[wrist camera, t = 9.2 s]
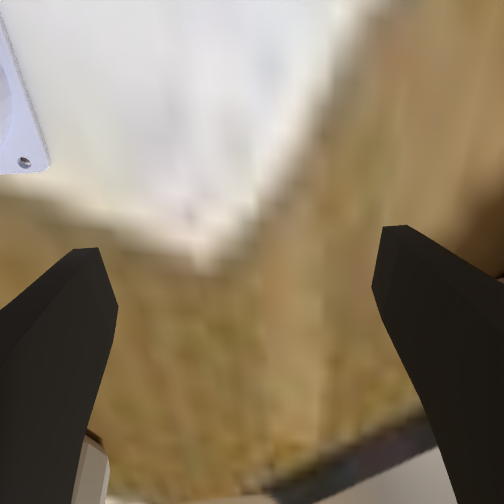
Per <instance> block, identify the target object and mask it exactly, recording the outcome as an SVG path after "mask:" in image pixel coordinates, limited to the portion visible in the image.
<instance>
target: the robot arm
mask: <svg viewBox="0 0 504 504" xmlns="http://www.w3.org/2000/svg"><path fill="white" fill-rule="evenodd" d="M21 157H23V158H26V159H28V160H29V161H30V163H31V165H26V164H24V163H23V162H22V161H21ZM50 164H51V159H50V156H49V153H48V150H47V147H46V144H45V142H44V139H43V136H42V133H41V130H40V127H39V124H38V121H37V118H36V115H35V113H34V110H33V107H32V104H31V101H30V98H29V95H28V92H27V89H26V87H25V84H24V81H23V78H22V75H21V72H20V69H19V66H18V63H17V61H16V58H15V55H14V52H13V49H12V46H11V43H10V40H9V37H8V35H7V32H6V29H5V26H4V23H3V20H2V17H1V14H0V175H7V174H25V173H41V172H45V171H46V170H47V169H48V168H49V166H50ZM372 291H373V294H374V297H375V300H376V304H377V307H378V310H379V313H380V316H381V319H382V321H383V323H384V326H385V328H386V330H387V332H388V334H389V336H390V338H391V340H392V342H393V344H394V347H395V349H396V351H397V353H398V355H399V357H400V359H401V361H402V363H403V365H404V367H405V369H406V371H407V373H408V375H409V377H410V379H411V381H412V383H413V385H414V388H415V390H416V392H417V394H418V396H419V398H420V400H421V403H422V405H423V407H424V410H425V412H426V414H427V417H428V420H429V422H430V425H431V428H432V431H433V433H434V436H435V439H436V442H437V444H438V447H439V450H440V452H441V455H442V458H443V461H444V464H445V467H446V470H447V473H448V476H449V479H450V482H451V485H452V488H453V491H454V494H455V496H456V500H457V503H458V504H504V284H503V283H501V282H500V281H498V280H496V279H494V278H493V277H491V276H489V275H488V274H486V273H484V272H483V271H481V270H479V269H478V268H476V267H474V266H473V265H471V264H469V263H468V262H466V261H465V260H463V259H461V258H460V257H458V256H457V255H455V254H453V253H452V252H450V251H449V250H447V249H446V248H444V247H442V246H441V245H439V244H438V243H436V242H435V241H433V240H431V239H430V238H428V237H427V236H425V235H423V234H422V233H420V232H418V231H417V230H415V229H413V228H411V227H409V226H408V225H399V226H385V227H383V229H382V234H381V239H380V245H379V250H378V255H377V260H376V266H375V271H374V276H373V281H372ZM117 313H118V304H117V301H116V298H115V295H114V292H113V289H112V287H111V284H110V281H109V278H108V275H107V272H106V269H105V266H104V263H103V260H102V257H101V254H100V252H99V249H98V247H97V248H83V249H73V250H72V251H70V252H69V253H68V254H66V255H65V256H64V257H63V258H62V259H60V260H59V261H58V262H57V263H56V264H54V265H53V266H52V267H51V268H50V269H49V270H47V271H46V272H45V273H44V274H43V275H42V276H40V277H39V278H38V279H37V280H36V281H35V282H33V283H32V284H31V285H30V286H29V287H28V288H26V289H25V290H24V291H23V292H22V293H21V294H19V295H18V296H17V297H16V298H15V299H14V300H12V301H11V302H10V303H9V304H8V305H6V306H5V307H4V308H2V309H1V310H0V504H71V501H72V496H73V490H74V484H75V479H76V474H77V469H78V464H79V459H80V454H81V449H82V444H83V440H84V437H85V433H86V429H87V425H88V422H89V419H90V415H91V412H92V409H93V406H94V402H95V399H96V396H97V393H98V390H99V386H100V383H101V380H102V377H103V373H104V370H105V367H106V364H107V360H108V357H109V354H110V350H111V347H112V343H113V338H114V333H115V327H116V320H117Z"/></svg>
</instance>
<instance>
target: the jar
mask: <svg viewBox="0 0 504 504" xmlns="http://www.w3.org/2000/svg"><path fill="white" fill-rule="evenodd" d="M109 475H110V467H109V460H108V456H107V455H106V453H105V451H104V450H103V448H102V447H101V445H100V444H98V443H97V442H95V441H94V440H93V439H91V438H90V437H88V436H87V435H85V437H84V440H83V444H82V449H81V454H80V459H79V464H78V469H77V474H76V479H75V484H74V490H73V496H72V501H71V504H105V499H106V493H107V487H108V481H109Z"/></svg>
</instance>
